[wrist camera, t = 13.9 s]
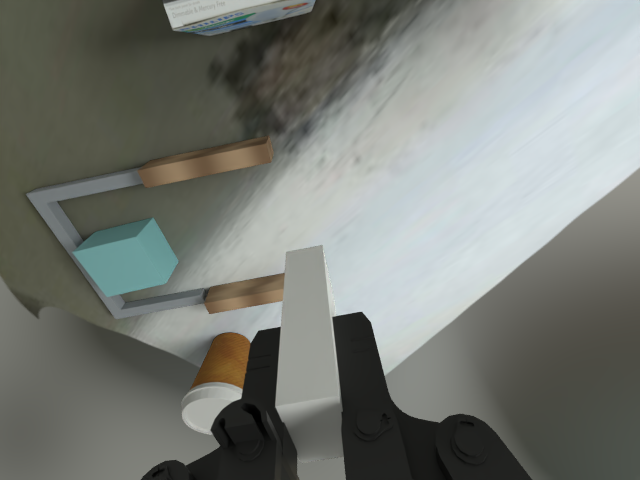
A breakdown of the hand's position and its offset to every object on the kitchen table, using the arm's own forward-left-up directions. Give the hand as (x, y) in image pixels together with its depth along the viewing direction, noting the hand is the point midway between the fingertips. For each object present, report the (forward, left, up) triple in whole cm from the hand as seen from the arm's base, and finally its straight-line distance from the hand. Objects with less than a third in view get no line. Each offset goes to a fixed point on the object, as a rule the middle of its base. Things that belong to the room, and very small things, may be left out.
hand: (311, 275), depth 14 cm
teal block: (+25, +10, -27) cm, 38 cm away
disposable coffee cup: (+19, +31, -27) cm, 45 cm away
